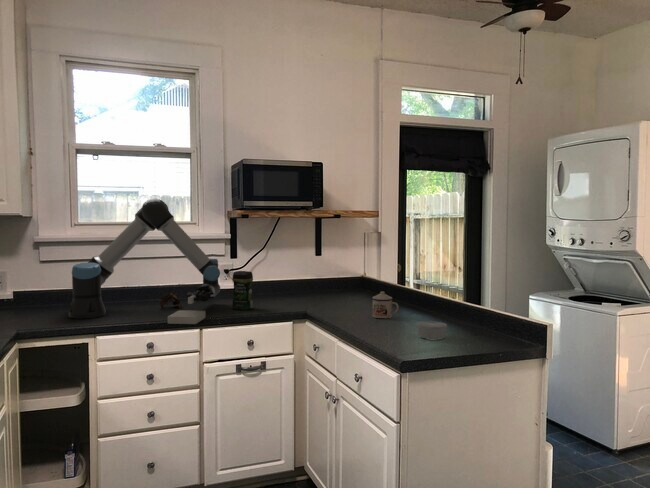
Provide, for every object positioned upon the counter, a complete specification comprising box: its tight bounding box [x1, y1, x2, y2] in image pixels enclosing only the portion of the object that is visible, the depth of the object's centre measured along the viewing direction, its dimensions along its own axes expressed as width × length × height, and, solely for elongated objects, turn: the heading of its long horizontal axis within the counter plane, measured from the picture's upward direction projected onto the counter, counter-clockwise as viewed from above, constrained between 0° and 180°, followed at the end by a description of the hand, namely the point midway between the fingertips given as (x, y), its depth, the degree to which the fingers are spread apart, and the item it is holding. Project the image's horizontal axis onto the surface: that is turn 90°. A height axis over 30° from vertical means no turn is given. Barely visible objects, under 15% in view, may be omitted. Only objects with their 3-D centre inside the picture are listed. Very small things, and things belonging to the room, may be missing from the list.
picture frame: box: [167, 309, 206, 325], centre depth 219 cm, size 12×3×14 cm
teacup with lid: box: [371, 291, 399, 319], centre depth 226 cm, size 12×9×12 cm
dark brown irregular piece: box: [158, 292, 182, 310], centre depth 250 cm, size 12×10×8 cm
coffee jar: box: [231, 270, 254, 311], centre depth 247 cm, size 10×8×19 cm
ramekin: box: [416, 320, 448, 339], centre depth 190 cm, size 11×11×5 cm
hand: (189, 300), depth 222 cm, fingers closed
